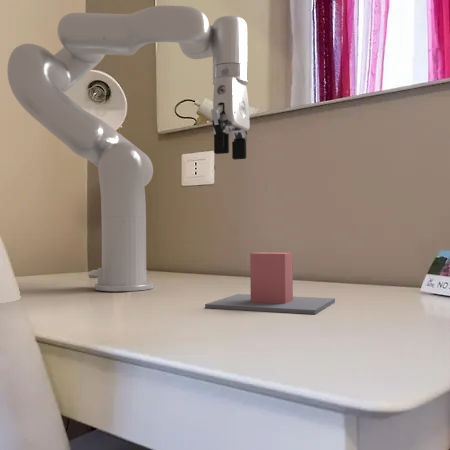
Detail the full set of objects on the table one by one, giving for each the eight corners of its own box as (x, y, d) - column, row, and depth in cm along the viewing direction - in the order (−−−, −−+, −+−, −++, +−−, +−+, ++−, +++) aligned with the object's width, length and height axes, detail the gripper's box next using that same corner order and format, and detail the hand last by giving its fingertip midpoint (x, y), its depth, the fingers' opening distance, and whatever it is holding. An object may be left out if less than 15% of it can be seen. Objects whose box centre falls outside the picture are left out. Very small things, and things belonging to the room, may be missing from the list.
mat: (205, 307, 85) (205, 304, 85) (237, 297, 98) (237, 294, 98) (315, 314, 78) (315, 310, 78) (335, 301, 91) (334, 298, 91)
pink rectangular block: (285, 303, 85) (284, 253, 85) (250, 301, 87) (250, 253, 87) (292, 300, 88) (292, 252, 88) (259, 298, 91) (258, 252, 91)
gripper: (230, 63, 104) (231, 149, 104) (260, 84, 120) (260, 160, 120) (196, 68, 107) (197, 152, 107) (229, 88, 123) (230, 161, 123)
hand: (230, 156), depth 114 cm, fingers open, 9 cm apart
